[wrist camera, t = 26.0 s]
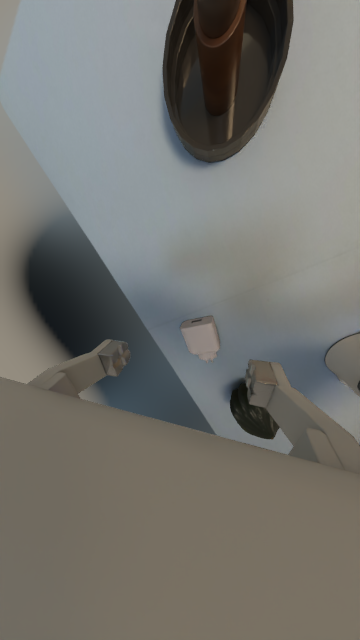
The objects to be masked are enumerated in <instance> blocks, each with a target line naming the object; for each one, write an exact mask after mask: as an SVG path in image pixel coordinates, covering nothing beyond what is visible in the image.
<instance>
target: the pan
mask: <svg viewBox="0 0 360 640" xmlns="http://www.w3.org/2000/svg"><path fill="white" fill-rule="evenodd" d="M292 26H293V0H247V3H246V13H245V23H244V32H243V42H242V52H241V62H240V71H239V81H238V89H237V93H236V97H235V99H234V101H233V103H232V105H231V106H230V108H229V109H228V110H227V111H226V112H225V113H223V114H222V115H218V116H215V115H212V114H210V113H209V112H208V110H207V109H206V106H205V103H204V96H203V88H202V80H201V72H200V64H199V57H198V49H197V41H196V33H195V25H194V0H176V2H175V6H174V9H173V13H172V16H171V19H170V23H169V26H168V30H167V34H166V41H165V50H164V58H163V83H164V97H165V101H166V104H167V108H168V112H169V116H170V119H171V122H172V124H173V126H174V129H175V131H176V133H177V136H178V137H179V139H180V141H181V143H182V144H183V146H184V148H185V149H186V150H187V151H188V152H189V153H190V154H191V155H193V156H194V157H195V158H197V159H199V160H203V161H206V162H214V161H220V160H224V159H226V158H228V157H230V156H231V155H233V154H235V153H236V152H238V151H239V150H240V149H241V148H242V147H243V146H244V145H245V144H246V143H247V142H248V141H249V140H250V139H251V138H252V137H253V136H254V134H255V133H256V131H257V129H258V128H259V126H260V124H261V123H262V121H263V119H264V118H265V116H266V114H267V112H268V109H269V107H270V104H271V101H272V99H273V96H274V93H275V90H276V88H277V85H278V82H279V79H280V76H281V73H282V71H283V68H284V65H285V62H286V59H287V55H288V49H289V43H290V38H291V32H292Z"/></svg>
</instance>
